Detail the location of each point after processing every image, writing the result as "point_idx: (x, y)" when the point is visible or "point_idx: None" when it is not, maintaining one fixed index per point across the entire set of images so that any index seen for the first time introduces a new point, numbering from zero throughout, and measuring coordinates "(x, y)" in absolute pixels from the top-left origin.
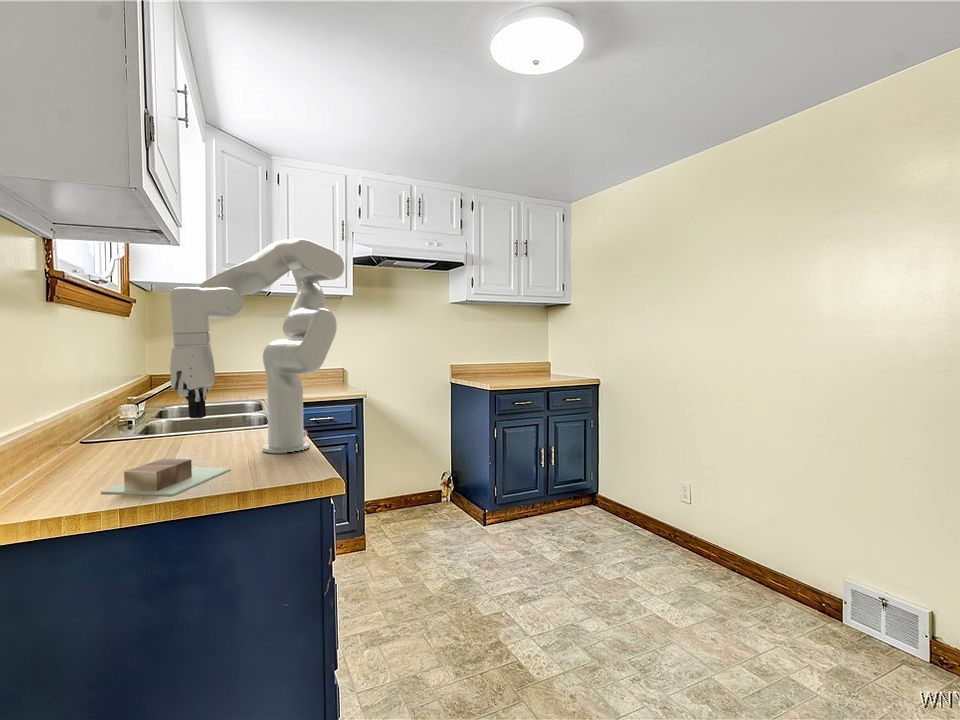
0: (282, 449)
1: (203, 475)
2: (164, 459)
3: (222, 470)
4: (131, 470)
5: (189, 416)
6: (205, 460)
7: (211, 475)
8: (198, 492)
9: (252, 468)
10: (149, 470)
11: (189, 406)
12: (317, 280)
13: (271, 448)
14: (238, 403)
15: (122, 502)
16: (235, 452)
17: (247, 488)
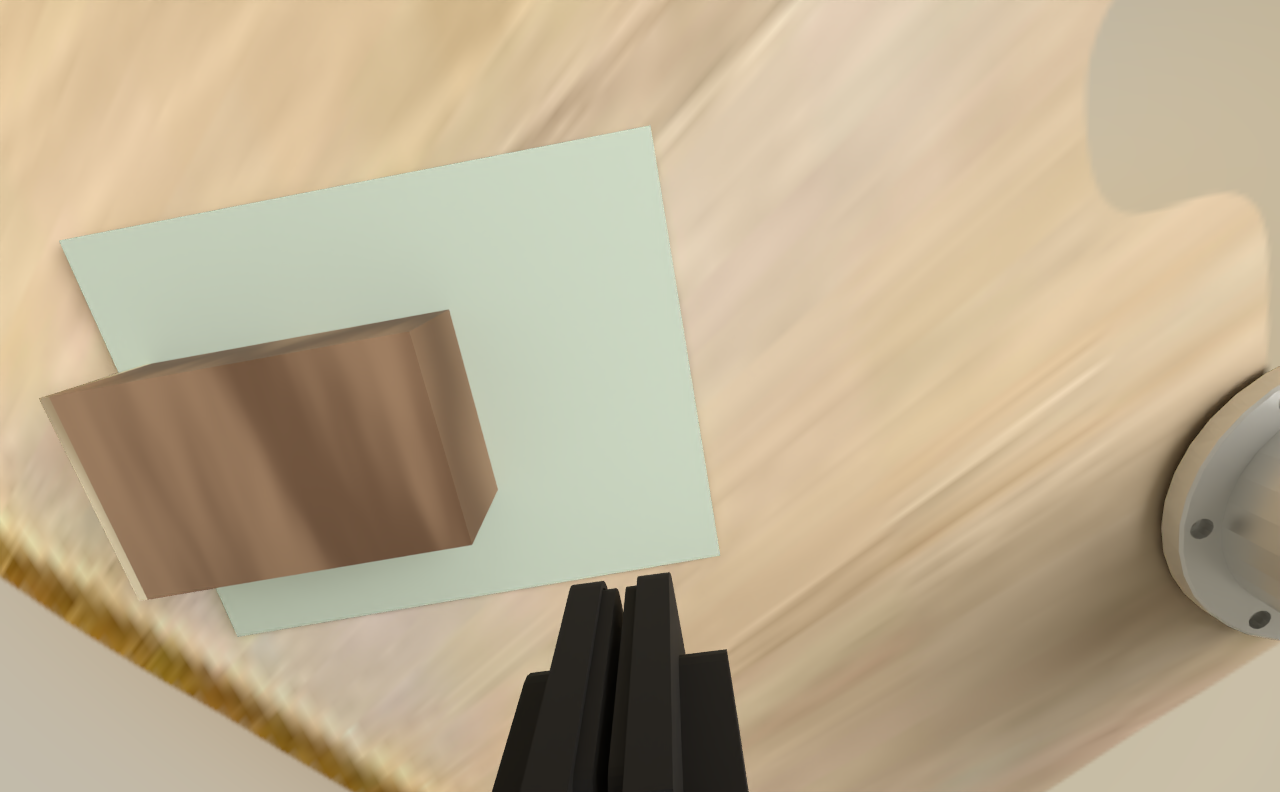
0: (1197, 566)
1: (544, 527)
2: (397, 364)
3: (667, 544)
4: (82, 421)
5: (570, 595)
6: (932, 175)
7: (559, 566)
8: (348, 675)
9: (797, 614)
10: (148, 530)
11: (547, 726)
12: None
13: (1230, 478)
14: None
15: (70, 484)
16: (1209, 198)
17: None
